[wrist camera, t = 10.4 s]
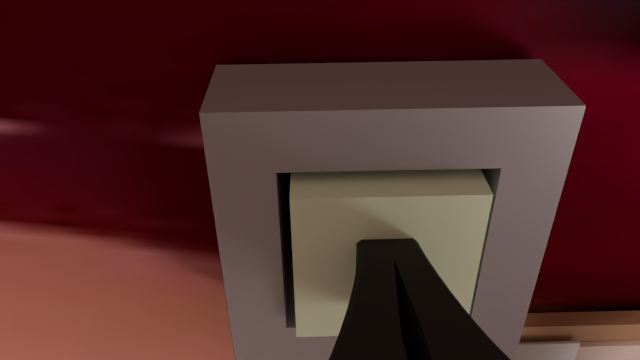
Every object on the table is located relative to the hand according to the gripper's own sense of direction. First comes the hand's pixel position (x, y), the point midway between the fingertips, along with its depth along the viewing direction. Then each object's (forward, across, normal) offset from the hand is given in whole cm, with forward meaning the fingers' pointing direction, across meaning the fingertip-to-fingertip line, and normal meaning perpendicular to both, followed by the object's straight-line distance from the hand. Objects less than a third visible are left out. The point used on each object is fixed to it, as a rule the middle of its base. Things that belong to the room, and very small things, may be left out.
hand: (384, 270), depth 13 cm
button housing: (+3, 0, 0) cm, 3 cm away
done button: (+3, 0, 0) cm, 3 cm away
